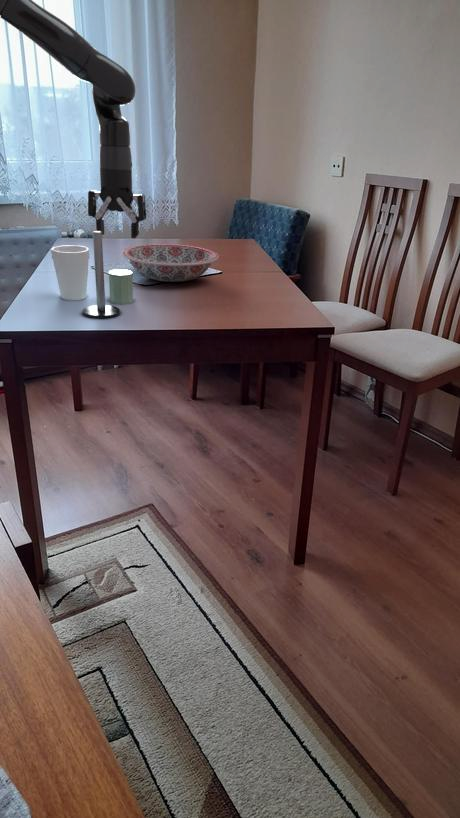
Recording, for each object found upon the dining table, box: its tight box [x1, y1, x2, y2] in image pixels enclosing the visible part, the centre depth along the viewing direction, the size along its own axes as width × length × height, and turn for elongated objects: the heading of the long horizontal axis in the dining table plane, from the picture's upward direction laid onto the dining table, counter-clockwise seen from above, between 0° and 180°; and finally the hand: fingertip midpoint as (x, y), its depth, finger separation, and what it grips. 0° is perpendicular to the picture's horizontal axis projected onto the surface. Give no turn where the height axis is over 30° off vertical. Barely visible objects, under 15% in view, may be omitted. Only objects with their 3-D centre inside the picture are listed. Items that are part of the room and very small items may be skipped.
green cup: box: [108, 268, 134, 305], centre depth 146 cm, size 6×6×8 cm
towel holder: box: [82, 230, 121, 320], centre depth 133 cm, size 9×9×20 cm
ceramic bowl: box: [121, 243, 219, 283], centre depth 170 cm, size 29×29×8 cm
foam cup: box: [50, 244, 91, 301], centre depth 146 cm, size 10×9×13 cm
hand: (117, 236), depth 140 cm, fingers open, 8 cm apart
